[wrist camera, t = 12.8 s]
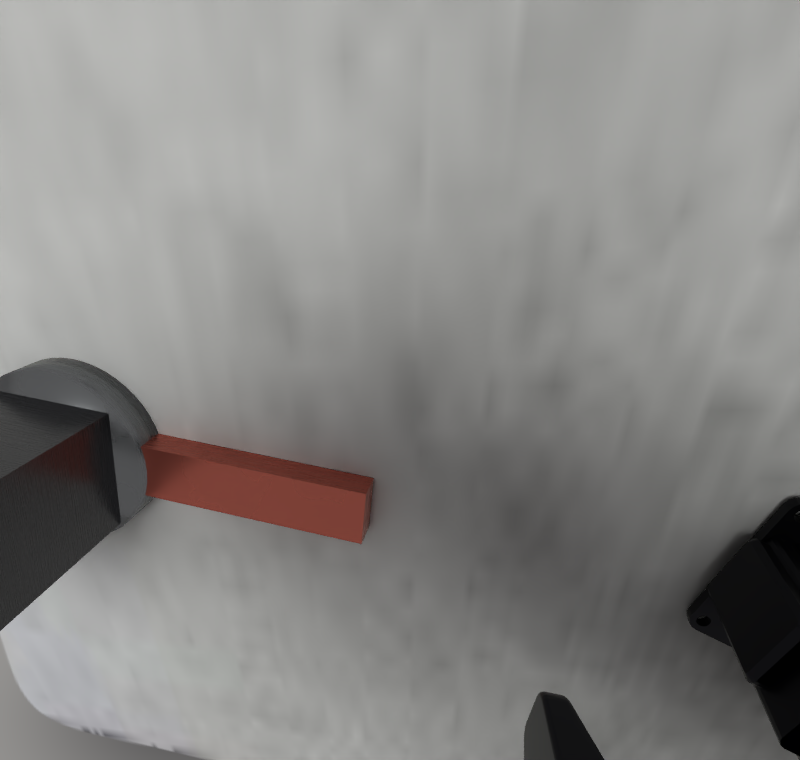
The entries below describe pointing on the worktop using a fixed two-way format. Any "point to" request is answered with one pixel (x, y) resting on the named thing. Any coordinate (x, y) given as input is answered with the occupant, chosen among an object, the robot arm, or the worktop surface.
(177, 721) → the worktop surface
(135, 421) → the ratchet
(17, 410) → the brushed metal block
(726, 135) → the worktop surface
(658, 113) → the worktop surface
